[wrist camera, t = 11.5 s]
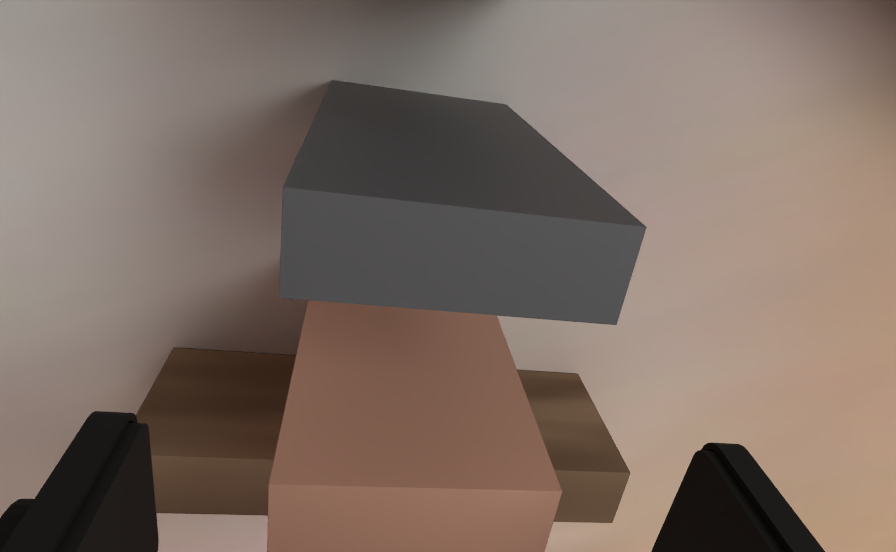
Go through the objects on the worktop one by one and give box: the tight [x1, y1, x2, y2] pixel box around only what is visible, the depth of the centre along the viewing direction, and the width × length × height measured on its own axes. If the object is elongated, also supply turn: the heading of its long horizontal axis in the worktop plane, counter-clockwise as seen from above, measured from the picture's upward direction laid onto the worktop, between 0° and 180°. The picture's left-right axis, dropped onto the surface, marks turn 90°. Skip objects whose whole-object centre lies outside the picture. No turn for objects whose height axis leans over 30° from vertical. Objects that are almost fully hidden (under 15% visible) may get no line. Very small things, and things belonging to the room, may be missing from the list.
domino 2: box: [267, 300, 562, 552], centre depth 15 cm, size 2×5×10 cm, turn 82°
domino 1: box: [279, 80, 646, 325], centre depth 13 cm, size 2×5×10 cm, turn 82°
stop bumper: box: [136, 348, 630, 523], centre depth 19 cm, size 2×14×5 cm, turn 82°
